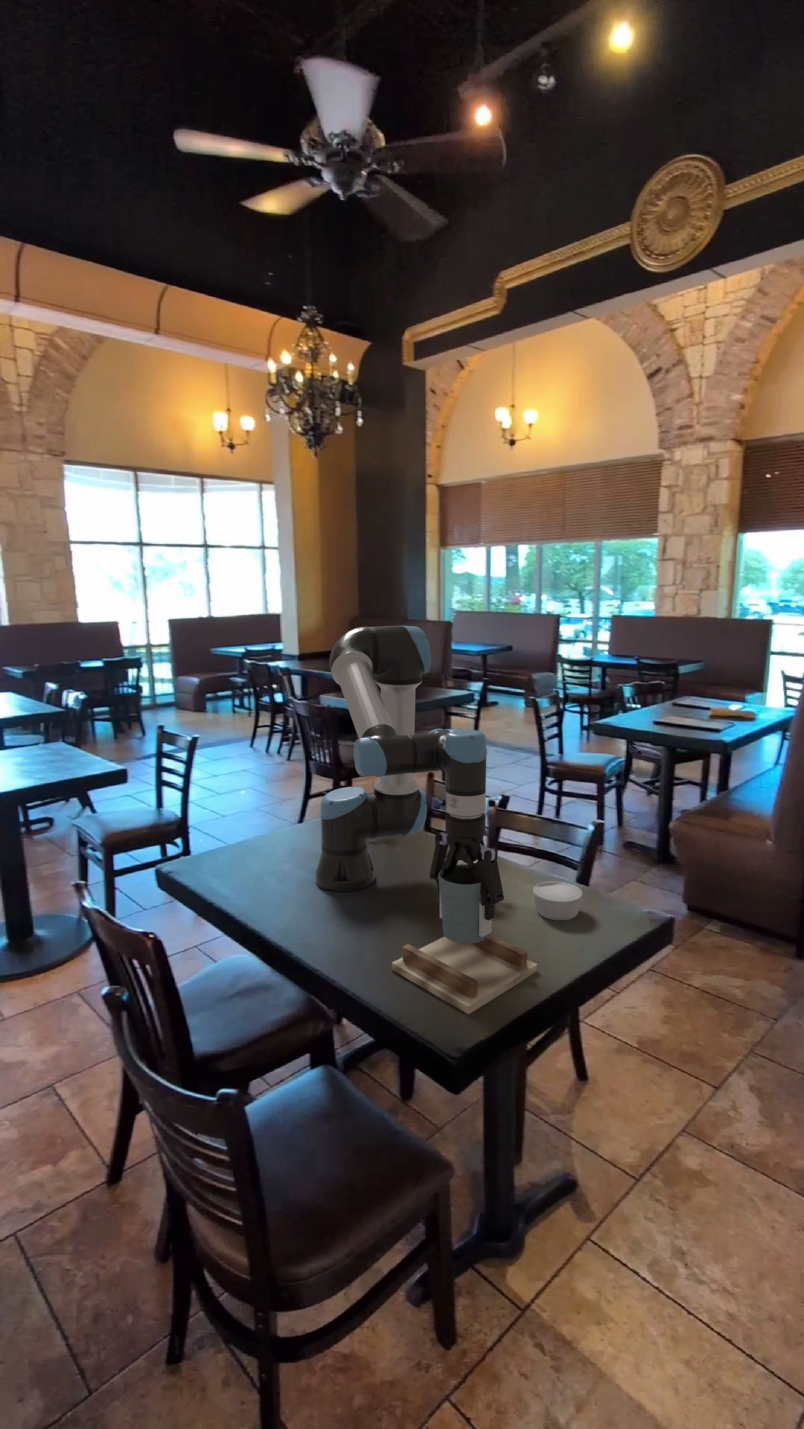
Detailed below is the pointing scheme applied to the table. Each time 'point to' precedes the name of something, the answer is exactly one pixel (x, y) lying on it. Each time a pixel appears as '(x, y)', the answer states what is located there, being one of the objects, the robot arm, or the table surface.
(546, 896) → the ramekin
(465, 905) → the grey-green cup
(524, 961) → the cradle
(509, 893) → the table surface
